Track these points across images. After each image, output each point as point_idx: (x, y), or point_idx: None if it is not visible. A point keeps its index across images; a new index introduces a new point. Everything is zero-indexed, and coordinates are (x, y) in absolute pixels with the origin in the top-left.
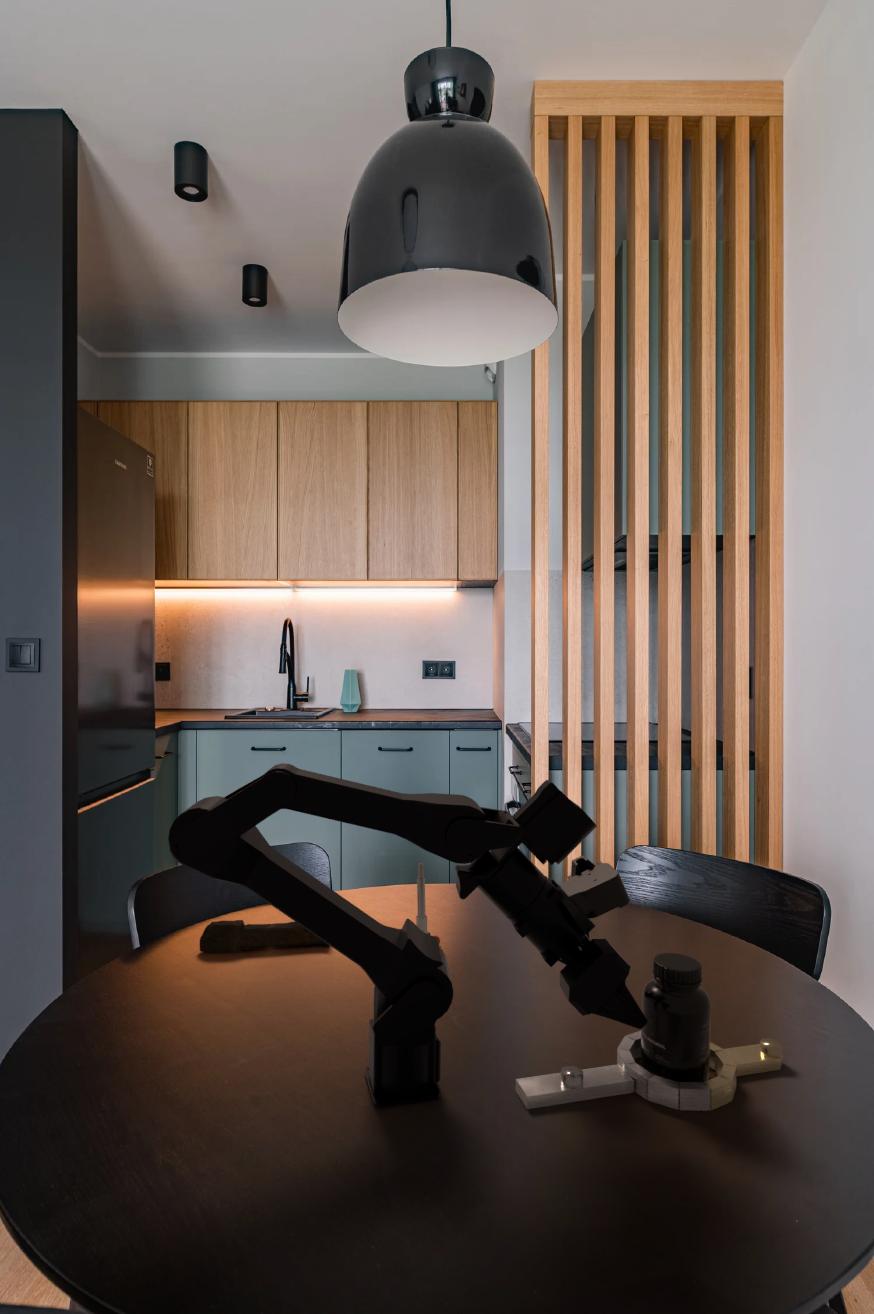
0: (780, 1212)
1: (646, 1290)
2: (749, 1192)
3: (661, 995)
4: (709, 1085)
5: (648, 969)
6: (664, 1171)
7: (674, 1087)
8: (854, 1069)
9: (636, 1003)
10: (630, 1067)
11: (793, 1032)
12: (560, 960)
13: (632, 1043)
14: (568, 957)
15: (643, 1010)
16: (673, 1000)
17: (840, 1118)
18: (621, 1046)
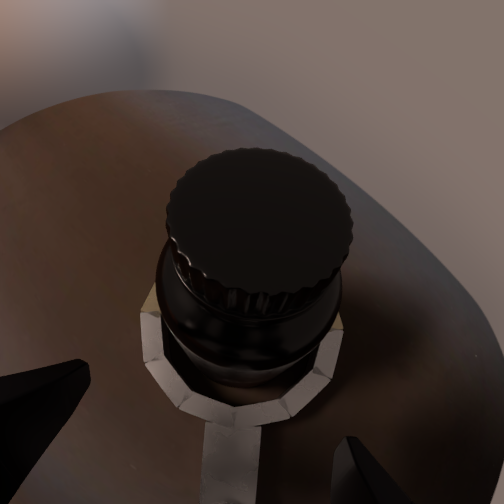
0: (469, 364)
1: (487, 499)
2: (451, 379)
3: (286, 339)
4: (333, 324)
5: (28, 186)
6: (412, 456)
7: (325, 384)
8: (290, 141)
9: (399, 487)
10: (245, 424)
11: (210, 138)
12: (9, 497)
13: (172, 368)
14: (6, 482)
15: (218, 371)
16: (319, 318)
17: (364, 208)
18: (173, 395)
